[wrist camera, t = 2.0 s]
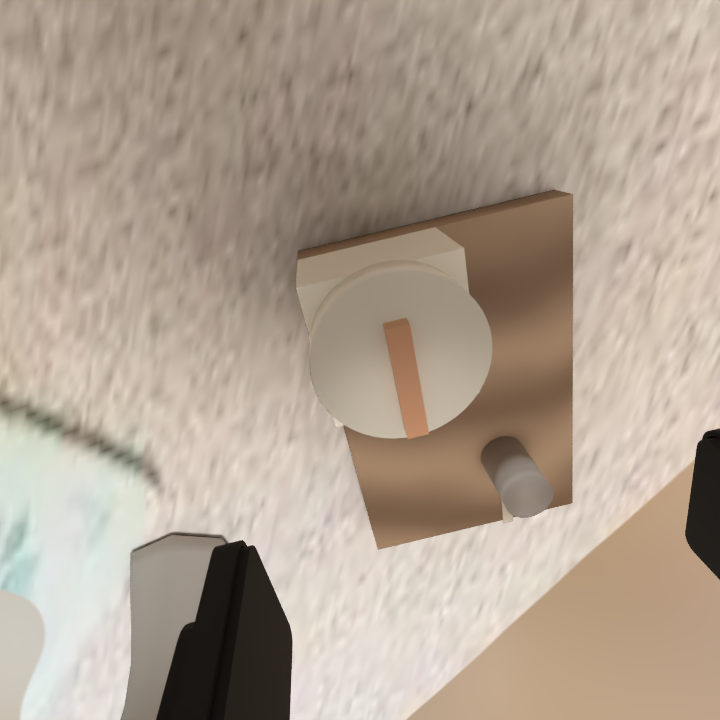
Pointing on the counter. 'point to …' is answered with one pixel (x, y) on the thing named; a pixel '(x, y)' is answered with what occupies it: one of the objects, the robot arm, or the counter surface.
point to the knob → (394, 333)
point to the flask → (161, 613)
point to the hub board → (489, 384)
